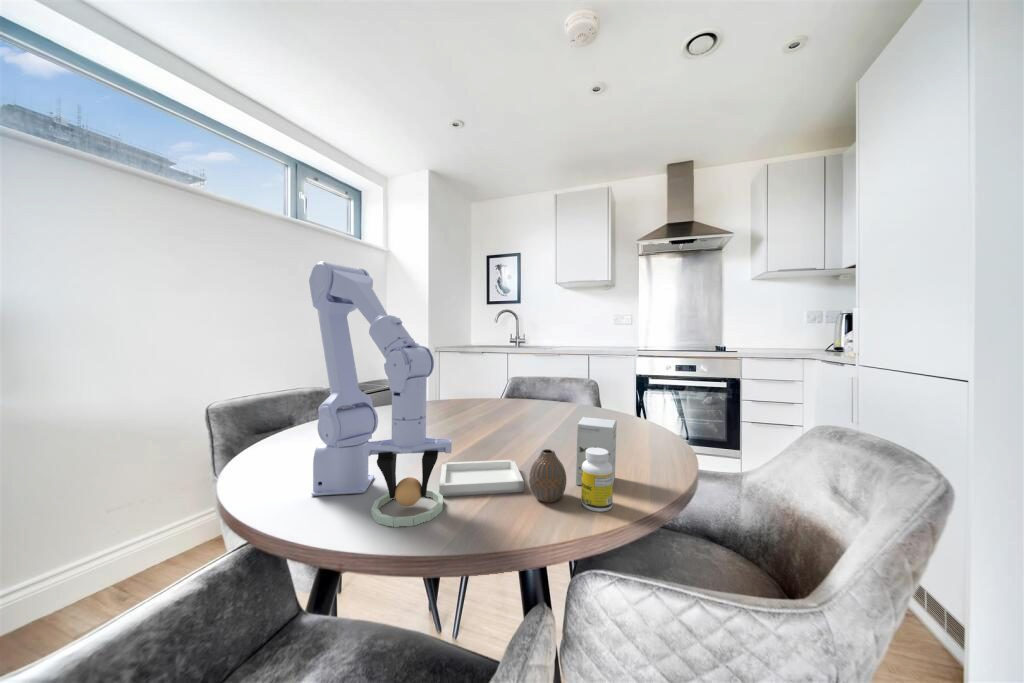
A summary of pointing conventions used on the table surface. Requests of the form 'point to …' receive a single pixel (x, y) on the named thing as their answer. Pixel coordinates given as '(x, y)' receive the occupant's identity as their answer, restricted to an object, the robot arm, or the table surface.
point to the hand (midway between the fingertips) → (408, 494)
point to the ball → (408, 491)
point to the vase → (547, 477)
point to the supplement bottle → (597, 480)
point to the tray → (480, 478)
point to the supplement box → (595, 441)
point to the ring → (406, 520)
